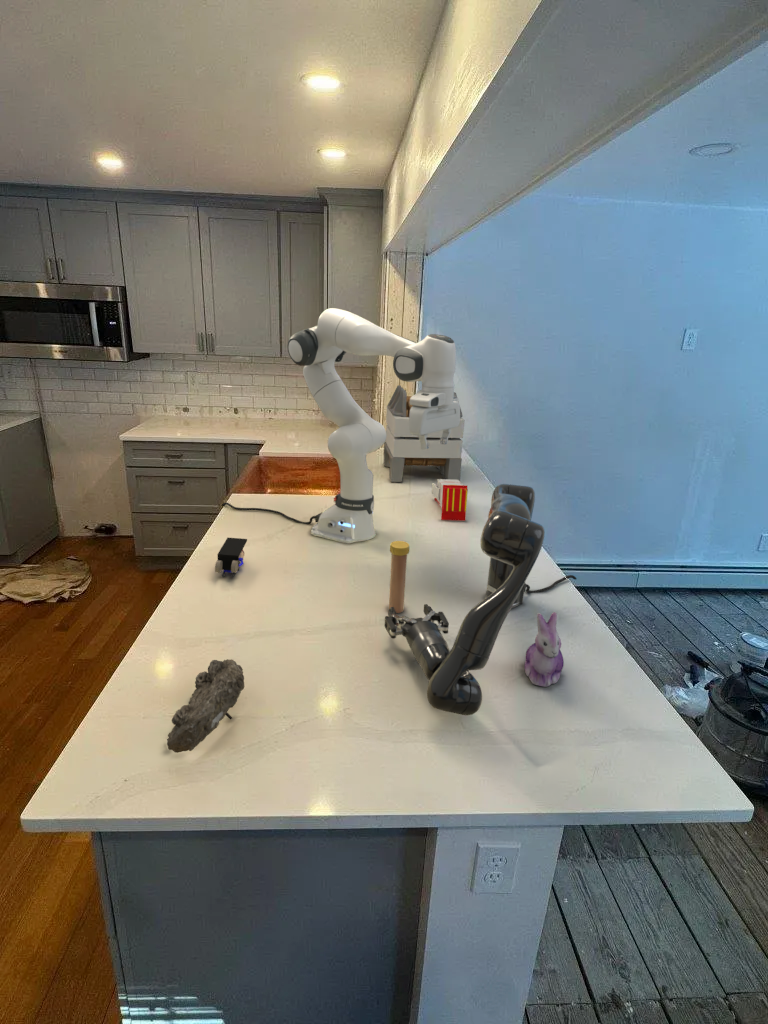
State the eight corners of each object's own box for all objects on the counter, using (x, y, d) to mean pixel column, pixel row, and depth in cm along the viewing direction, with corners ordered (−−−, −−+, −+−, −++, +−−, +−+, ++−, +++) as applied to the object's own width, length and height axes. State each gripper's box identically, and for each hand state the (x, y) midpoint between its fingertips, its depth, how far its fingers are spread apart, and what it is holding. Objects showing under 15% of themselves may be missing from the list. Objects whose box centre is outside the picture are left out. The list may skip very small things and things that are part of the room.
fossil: (192, 660, 117) (244, 628, 112) (224, 691, 120) (276, 661, 115) (142, 746, 98) (202, 712, 93) (182, 779, 101) (242, 748, 96)
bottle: (396, 614, 147) (400, 550, 141) (385, 609, 150) (388, 545, 143) (406, 609, 150) (410, 546, 144) (395, 604, 152) (399, 541, 146)
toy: (459, 475, 239) (472, 486, 210) (457, 506, 242) (469, 522, 212) (430, 474, 239) (439, 485, 209) (429, 505, 241) (437, 521, 212)
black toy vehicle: (238, 584, 162) (249, 557, 175) (236, 562, 158) (247, 536, 172) (215, 584, 161) (227, 556, 175) (212, 561, 158) (225, 535, 171)
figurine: (543, 694, 119) (553, 631, 114) (511, 667, 127) (519, 608, 122) (576, 682, 123) (587, 622, 118) (543, 657, 131) (552, 600, 126)
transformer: (382, 463, 289) (386, 382, 275) (445, 464, 293) (451, 384, 279) (390, 482, 257) (394, 392, 243) (460, 483, 261) (468, 394, 247)
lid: (400, 557, 141) (400, 550, 140) (385, 551, 144) (386, 544, 143) (412, 552, 144) (413, 544, 144) (398, 546, 147) (398, 539, 147)
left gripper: (448, 392, 164) (445, 439, 169) (405, 399, 149) (403, 450, 154) (467, 394, 161) (463, 442, 165) (425, 401, 146) (422, 454, 150)
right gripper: (460, 627, 124) (437, 592, 138) (397, 633, 120) (380, 597, 135) (457, 657, 126) (434, 619, 141) (396, 663, 123) (379, 624, 138)
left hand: (434, 446), depth 159 cm, fingers open, 8 cm apart
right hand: (408, 608), depth 138 cm, fingers open, 8 cm apart
